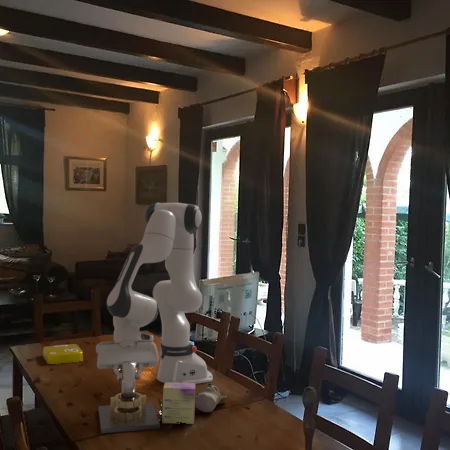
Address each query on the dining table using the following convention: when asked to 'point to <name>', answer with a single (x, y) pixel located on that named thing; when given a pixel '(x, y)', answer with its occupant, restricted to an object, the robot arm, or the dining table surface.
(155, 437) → the dining table surface
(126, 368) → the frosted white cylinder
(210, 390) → the ceramic sculpture
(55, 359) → the element tile
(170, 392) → the box
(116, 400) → the collar stand
